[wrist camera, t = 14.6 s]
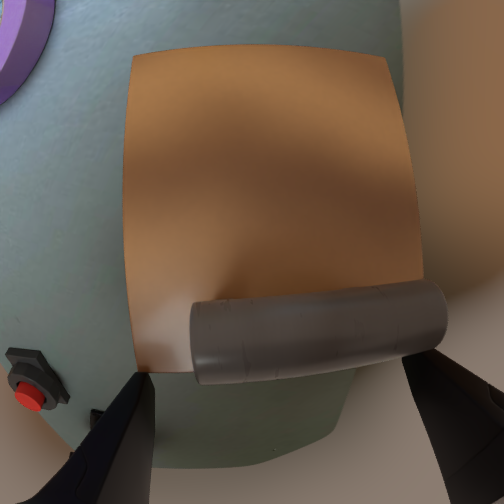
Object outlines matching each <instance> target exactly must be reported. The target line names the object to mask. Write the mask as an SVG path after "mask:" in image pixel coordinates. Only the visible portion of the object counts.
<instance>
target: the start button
mask: <svg viewBox="0 0 504 504" xmlns="http://www.w3.org/2000/svg"><path fill="white" fill-rule="evenodd" d="M15 397H16V399H17V400H18V401H19V402H20V403H21V404H22V405H23V406H25V407H27V408H29V409H30V410H33V411H40V410H41V408H42V406H43V403H44V400H45V396H44V395H43V393H42V392H41V391H39V390H38V389H37V388H35V387H34V386H32V385H30V384H28V383H26V382H22V381H21V382H20V383H19V385H18V387H17V390H16V392H15Z"/></svg>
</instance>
